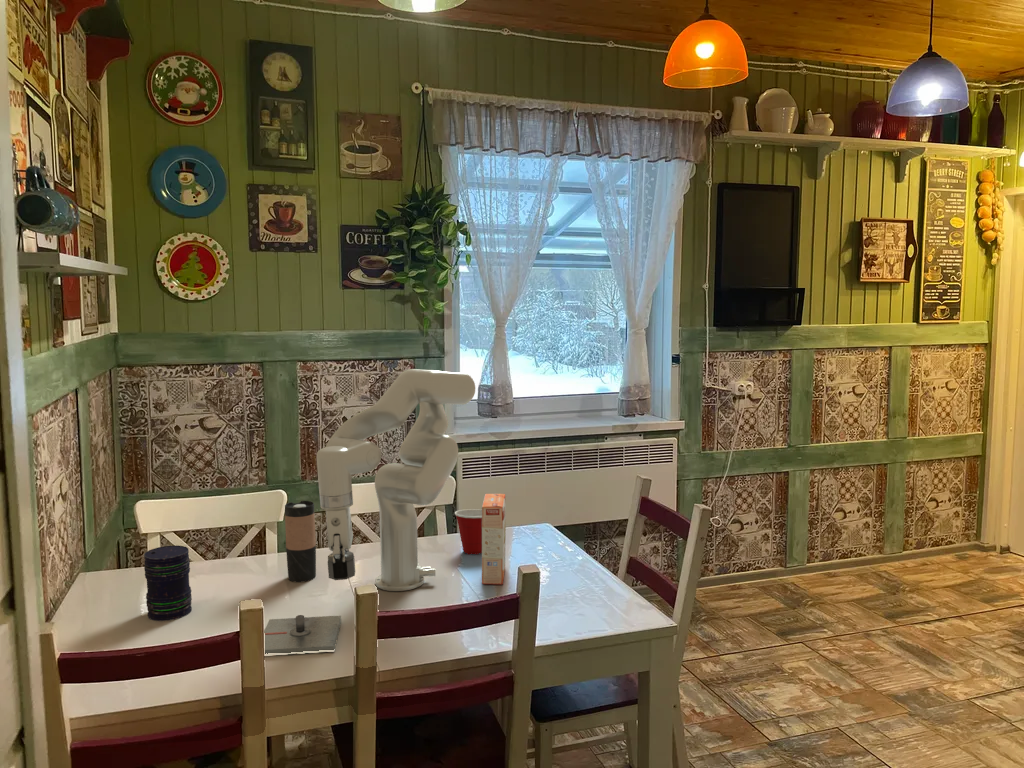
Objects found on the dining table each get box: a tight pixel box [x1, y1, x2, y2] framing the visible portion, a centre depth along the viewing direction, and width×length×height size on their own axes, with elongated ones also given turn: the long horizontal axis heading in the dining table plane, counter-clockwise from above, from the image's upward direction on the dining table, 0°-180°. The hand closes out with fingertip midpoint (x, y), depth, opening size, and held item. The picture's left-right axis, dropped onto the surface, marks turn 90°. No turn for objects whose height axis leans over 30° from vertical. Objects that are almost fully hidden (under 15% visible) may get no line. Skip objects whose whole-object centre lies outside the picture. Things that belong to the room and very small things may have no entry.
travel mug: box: [284, 500, 317, 583], centre depth 211 cm, size 8×8×20 cm
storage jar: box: [143, 545, 193, 622], centre depth 188 cm, size 10×10×15 cm
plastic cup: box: [454, 508, 482, 555], centre depth 232 cm, size 11×11×12 cm
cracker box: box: [481, 493, 507, 585], centre depth 211 cm, size 14×6×21 cm, turn 178°
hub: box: [264, 614, 342, 654], centre depth 174 cm, size 16×16×5 cm
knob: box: [327, 550, 356, 581], centre depth 188 cm, size 6×6×5 cm
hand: (342, 571), depth 189 cm, fingers closed on knob, 6 cm apart
